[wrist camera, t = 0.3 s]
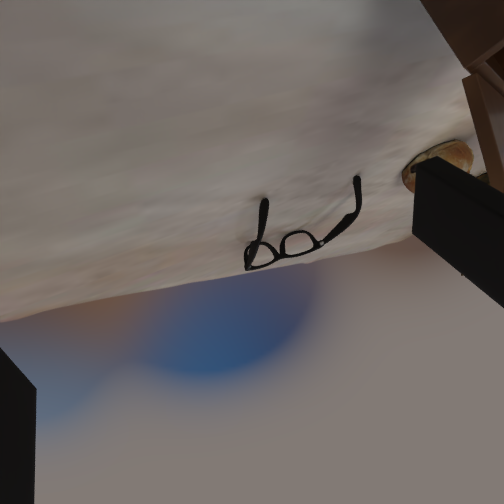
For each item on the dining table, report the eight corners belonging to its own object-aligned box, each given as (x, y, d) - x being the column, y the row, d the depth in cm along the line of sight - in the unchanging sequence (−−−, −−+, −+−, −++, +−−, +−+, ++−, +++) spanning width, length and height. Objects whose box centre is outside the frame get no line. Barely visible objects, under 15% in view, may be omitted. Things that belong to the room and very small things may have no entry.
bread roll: (430, 117, 61) (440, 163, 58) (486, 137, 65) (499, 182, 61) (386, 159, 70) (392, 201, 66) (437, 174, 73) (446, 216, 69)
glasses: (225, 247, 70) (236, 276, 69) (257, 198, 54) (272, 234, 53) (312, 223, 76) (324, 249, 75) (364, 172, 60) (379, 204, 59)
